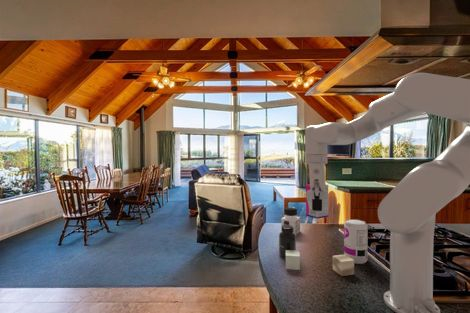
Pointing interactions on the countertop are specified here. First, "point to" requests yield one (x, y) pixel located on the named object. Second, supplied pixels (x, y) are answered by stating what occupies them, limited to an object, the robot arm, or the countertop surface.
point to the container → (291, 219)
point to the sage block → (292, 260)
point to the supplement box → (325, 204)
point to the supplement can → (355, 240)
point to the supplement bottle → (286, 240)
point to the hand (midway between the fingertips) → (317, 207)
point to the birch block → (343, 265)
